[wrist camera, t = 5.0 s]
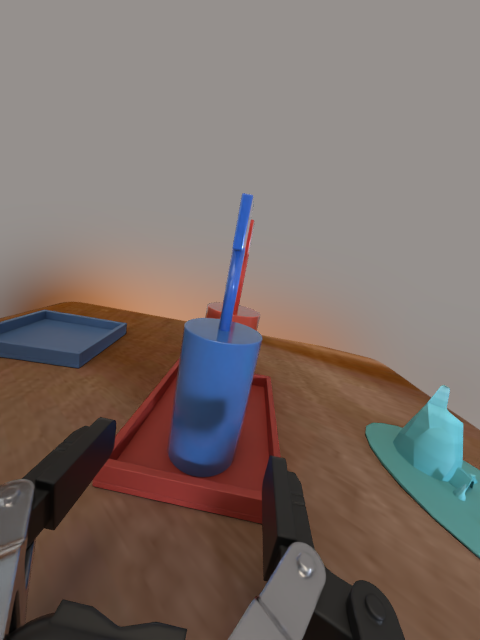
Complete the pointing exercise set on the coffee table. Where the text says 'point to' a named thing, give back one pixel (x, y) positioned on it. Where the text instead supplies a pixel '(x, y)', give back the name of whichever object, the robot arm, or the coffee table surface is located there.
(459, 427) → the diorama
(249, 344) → the blue pot
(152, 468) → the red tray
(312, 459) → the coffee table surface
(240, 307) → the red spoon pot
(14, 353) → the blue tray
